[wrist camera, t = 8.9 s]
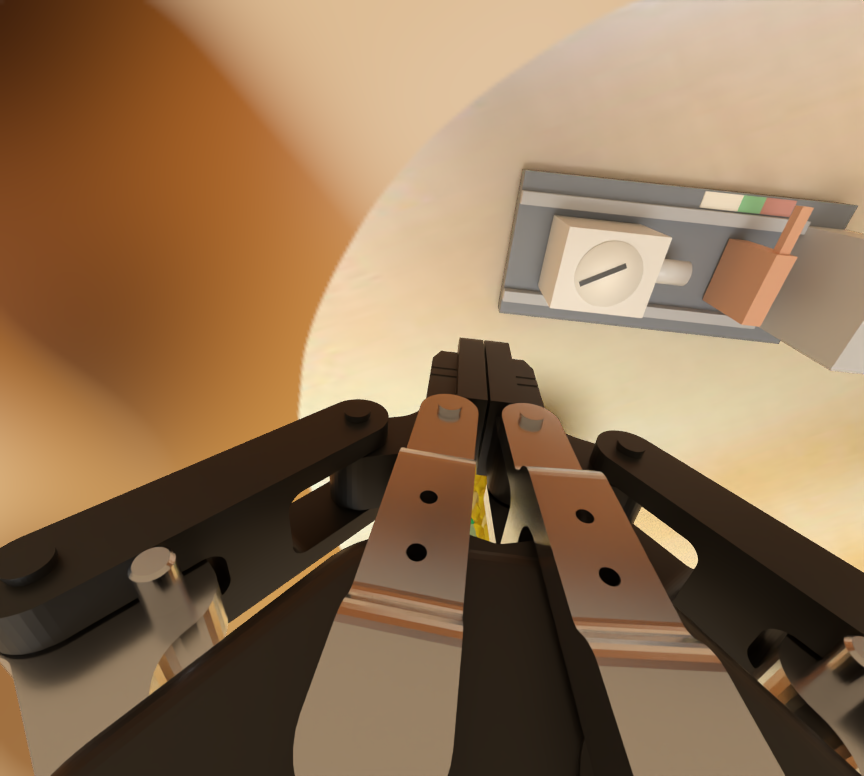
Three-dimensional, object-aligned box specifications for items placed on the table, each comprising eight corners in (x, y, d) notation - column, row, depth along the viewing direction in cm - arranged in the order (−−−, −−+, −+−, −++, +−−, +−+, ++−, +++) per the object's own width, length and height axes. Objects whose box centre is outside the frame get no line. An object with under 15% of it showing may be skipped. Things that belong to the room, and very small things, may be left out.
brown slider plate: (766, 199, 27) (823, 208, 23) (718, 301, 30) (760, 326, 26) (747, 197, 27) (801, 206, 23) (702, 299, 30) (741, 324, 26)
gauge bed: (840, 203, 28) (993, 225, 20) (766, 336, 33) (864, 397, 25) (522, 169, 28) (546, 177, 20) (497, 306, 34) (508, 357, 25)
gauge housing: (684, 228, 28) (726, 244, 24) (657, 298, 31) (690, 325, 26) (554, 214, 28) (571, 227, 24) (537, 285, 31) (550, 309, 26)
